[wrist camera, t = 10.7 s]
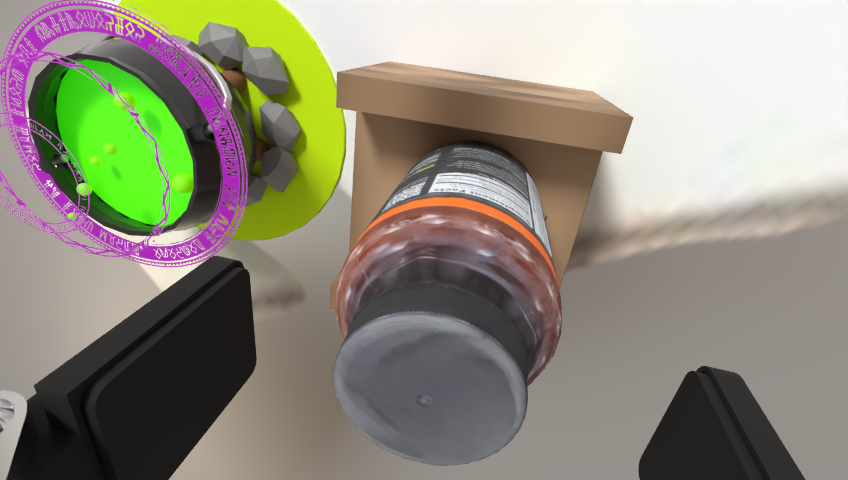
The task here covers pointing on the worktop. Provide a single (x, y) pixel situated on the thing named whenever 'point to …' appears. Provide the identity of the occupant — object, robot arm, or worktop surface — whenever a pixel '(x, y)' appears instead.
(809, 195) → the worktop surface
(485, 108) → the pedestal
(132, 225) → the toy cauldron
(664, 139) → the worktop surface
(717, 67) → the worktop surface
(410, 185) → the supplement bottle
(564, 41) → the worktop surface
